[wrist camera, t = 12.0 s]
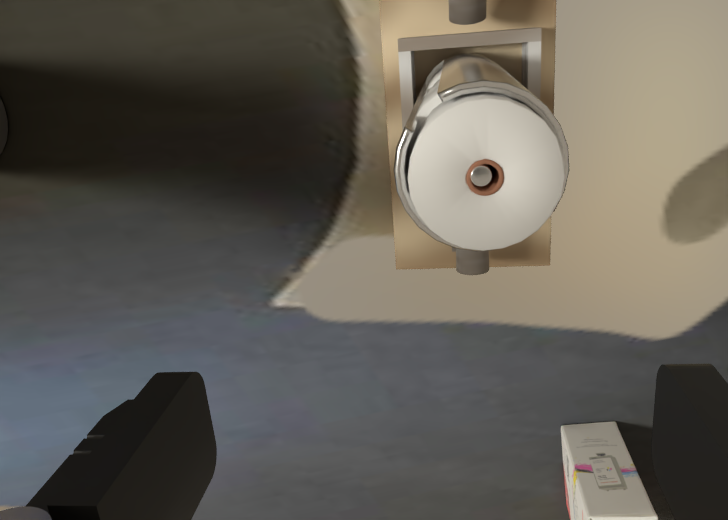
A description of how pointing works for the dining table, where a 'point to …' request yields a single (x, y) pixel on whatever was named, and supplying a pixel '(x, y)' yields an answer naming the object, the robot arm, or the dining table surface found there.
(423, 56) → the coupling stand
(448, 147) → the air filter
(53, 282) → the dining table surface
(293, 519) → the dining table surface
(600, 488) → the ink cartridge box
